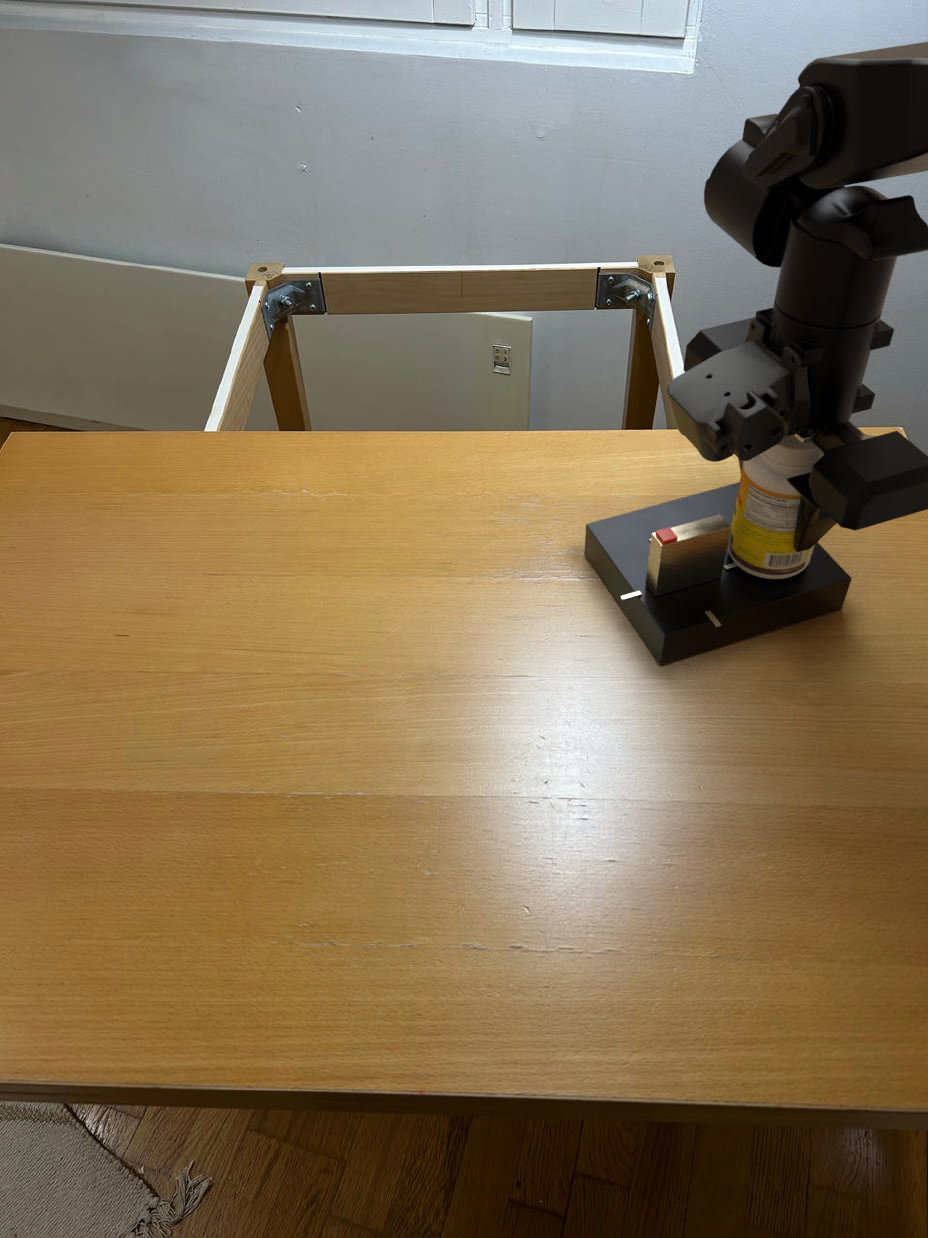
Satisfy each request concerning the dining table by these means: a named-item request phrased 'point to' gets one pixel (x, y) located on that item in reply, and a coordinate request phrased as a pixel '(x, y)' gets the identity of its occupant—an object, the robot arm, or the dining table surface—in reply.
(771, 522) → the supplement bottle
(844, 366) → the robot arm
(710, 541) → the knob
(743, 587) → the console
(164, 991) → the dining table surface
